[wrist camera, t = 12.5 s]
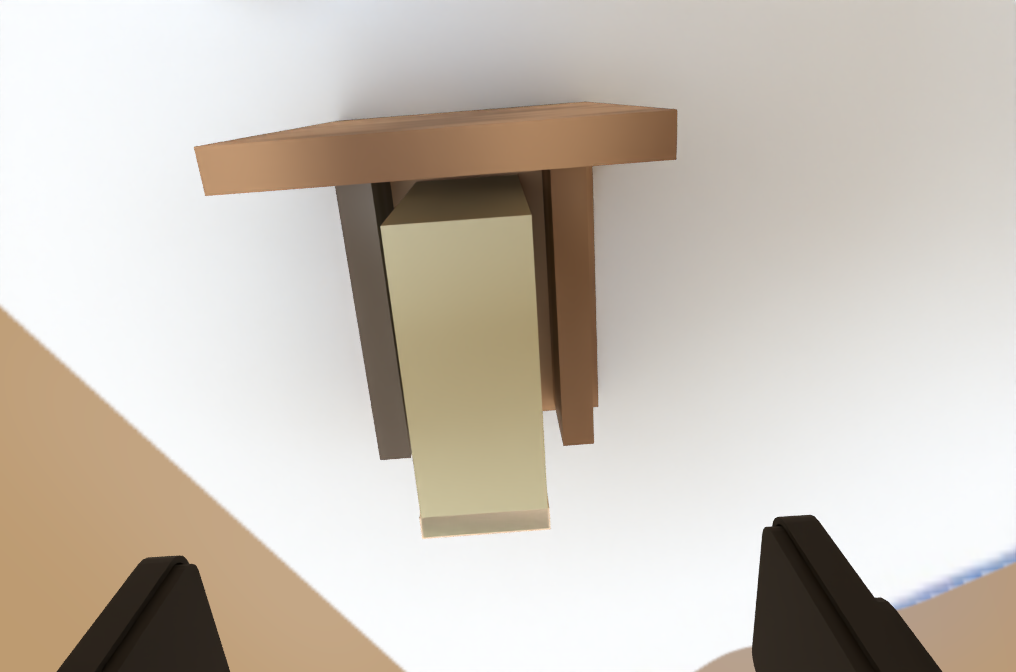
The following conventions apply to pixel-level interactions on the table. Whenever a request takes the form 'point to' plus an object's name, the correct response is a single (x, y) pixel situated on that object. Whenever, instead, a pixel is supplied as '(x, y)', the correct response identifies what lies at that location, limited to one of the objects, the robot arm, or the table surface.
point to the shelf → (456, 155)
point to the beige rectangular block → (469, 354)
